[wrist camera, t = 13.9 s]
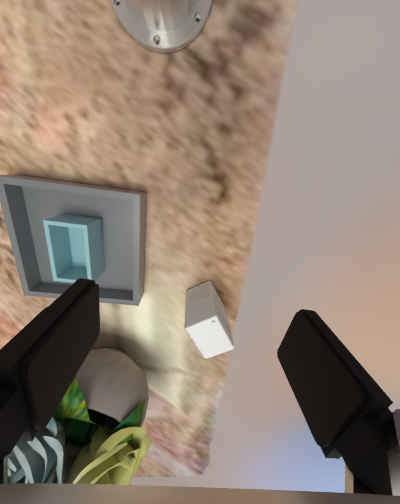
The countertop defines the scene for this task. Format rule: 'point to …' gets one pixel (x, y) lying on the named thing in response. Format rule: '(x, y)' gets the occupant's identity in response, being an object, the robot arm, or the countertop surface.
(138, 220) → the gray square tray
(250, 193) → the countertop surface
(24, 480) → the flower arrangement
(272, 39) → the countertop surface
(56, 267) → the small crate
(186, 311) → the small box
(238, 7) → the countertop surface
